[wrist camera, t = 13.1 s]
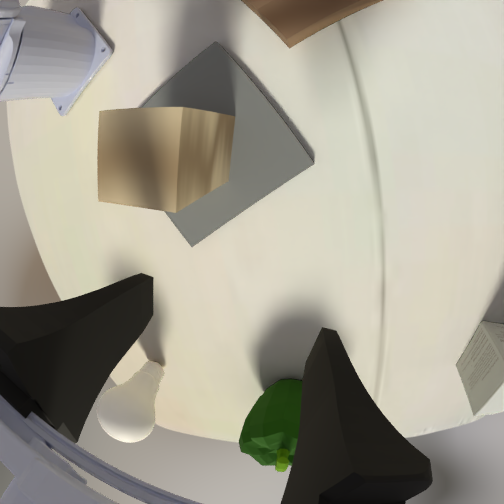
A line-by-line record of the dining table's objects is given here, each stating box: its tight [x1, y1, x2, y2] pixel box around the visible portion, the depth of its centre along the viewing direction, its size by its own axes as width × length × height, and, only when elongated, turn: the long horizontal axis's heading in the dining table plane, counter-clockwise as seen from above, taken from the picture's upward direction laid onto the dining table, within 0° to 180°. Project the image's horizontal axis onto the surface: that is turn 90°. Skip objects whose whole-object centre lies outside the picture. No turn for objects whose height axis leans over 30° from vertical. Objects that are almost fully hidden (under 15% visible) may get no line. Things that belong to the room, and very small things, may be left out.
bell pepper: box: [239, 379, 303, 472], centre depth 23 cm, size 8×8×10 cm
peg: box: [98, 107, 235, 213], centre depth 15 cm, size 4×4×8 cm
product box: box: [456, 321, 504, 416], centre depth 17 cm, size 6×6×7 cm
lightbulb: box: [97, 361, 164, 442], centre depth 25 cm, size 6×6×11 cm
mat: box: [142, 42, 314, 247], centre depth 19 cm, size 11×11×1 cm
